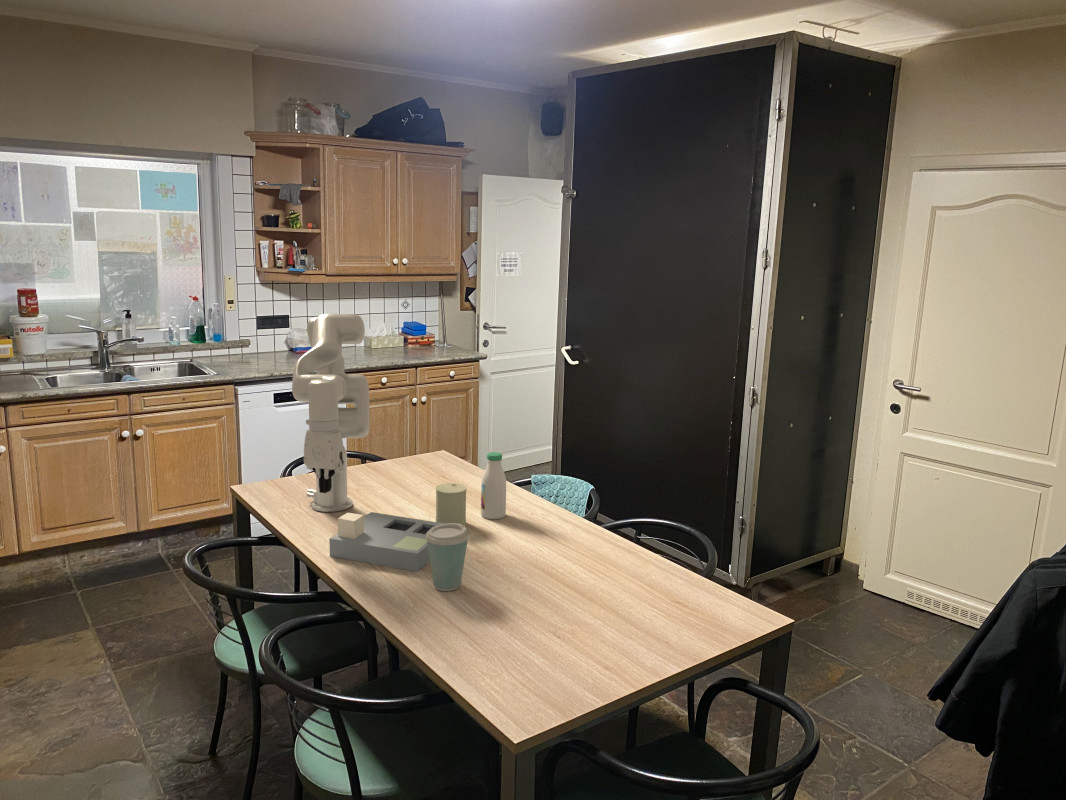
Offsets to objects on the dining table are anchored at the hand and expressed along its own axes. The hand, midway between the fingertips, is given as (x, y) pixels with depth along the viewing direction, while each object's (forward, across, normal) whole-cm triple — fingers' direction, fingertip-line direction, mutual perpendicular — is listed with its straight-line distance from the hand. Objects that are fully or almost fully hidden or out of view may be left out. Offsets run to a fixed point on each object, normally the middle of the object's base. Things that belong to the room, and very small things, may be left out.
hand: (325, 491), depth 211 cm
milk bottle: (+16, +33, +41) cm, 55 cm away
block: (+11, +8, 0) cm, 14 cm away
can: (+16, +24, +29) cm, 41 cm away
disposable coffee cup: (+17, +40, -9) cm, 45 cm away
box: (+16, +17, +6) cm, 24 cm away
